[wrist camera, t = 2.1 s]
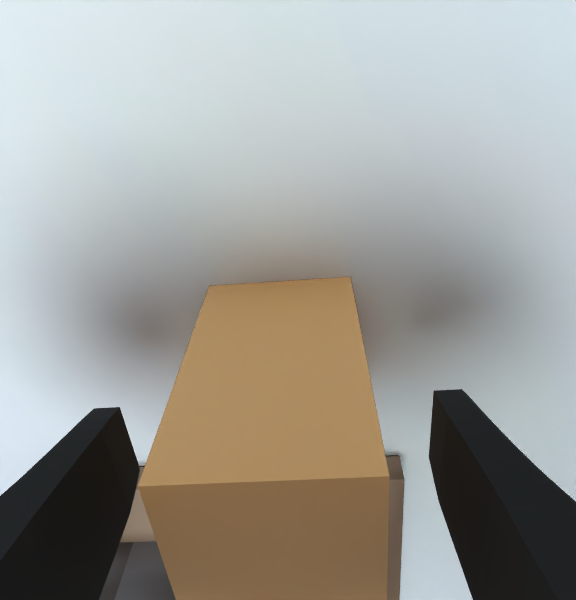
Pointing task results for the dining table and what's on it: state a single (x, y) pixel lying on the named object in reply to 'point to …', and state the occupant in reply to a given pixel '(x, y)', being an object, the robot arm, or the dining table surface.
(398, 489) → the holder
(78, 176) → the dining table surface
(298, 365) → the orange rectangular block
